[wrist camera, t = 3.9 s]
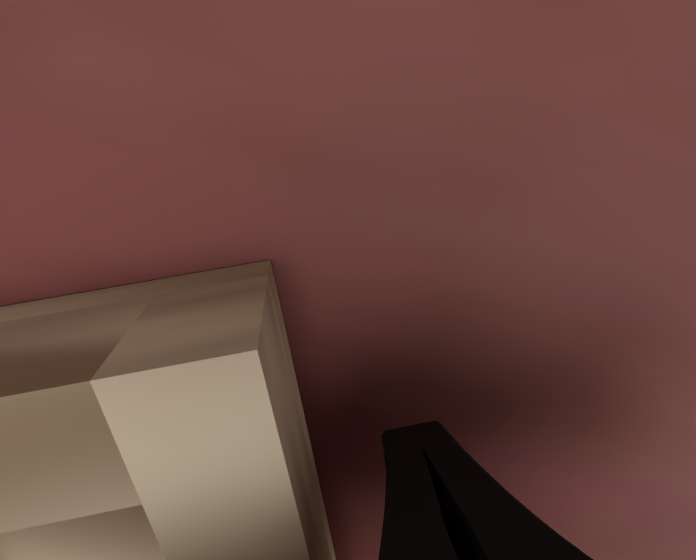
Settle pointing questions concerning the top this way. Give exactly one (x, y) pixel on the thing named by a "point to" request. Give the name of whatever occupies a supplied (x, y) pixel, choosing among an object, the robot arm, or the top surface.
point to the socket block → (156, 425)
